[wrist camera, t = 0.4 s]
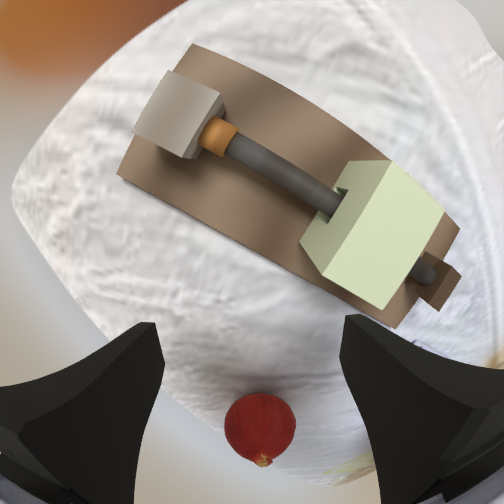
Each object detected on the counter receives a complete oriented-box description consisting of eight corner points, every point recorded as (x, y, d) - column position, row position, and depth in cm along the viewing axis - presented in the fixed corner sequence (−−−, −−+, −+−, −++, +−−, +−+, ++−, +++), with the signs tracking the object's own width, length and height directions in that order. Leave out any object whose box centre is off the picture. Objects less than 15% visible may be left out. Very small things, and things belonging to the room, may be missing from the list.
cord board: (453, 225, 18) (492, 242, 14) (390, 323, 21) (417, 357, 16) (194, 49, 14) (179, 15, 10) (122, 173, 17) (84, 177, 12)
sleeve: (393, 196, 16) (445, 210, 11) (347, 270, 18) (382, 310, 12) (348, 161, 16) (392, 160, 10) (298, 241, 17) (321, 275, 12)
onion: (272, 419, 24) (279, 484, 16) (218, 406, 23) (211, 475, 16) (300, 382, 22) (317, 454, 15) (240, 366, 22) (238, 443, 14)
